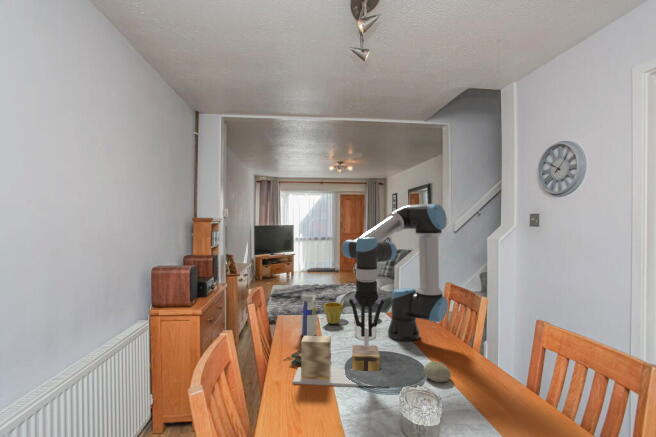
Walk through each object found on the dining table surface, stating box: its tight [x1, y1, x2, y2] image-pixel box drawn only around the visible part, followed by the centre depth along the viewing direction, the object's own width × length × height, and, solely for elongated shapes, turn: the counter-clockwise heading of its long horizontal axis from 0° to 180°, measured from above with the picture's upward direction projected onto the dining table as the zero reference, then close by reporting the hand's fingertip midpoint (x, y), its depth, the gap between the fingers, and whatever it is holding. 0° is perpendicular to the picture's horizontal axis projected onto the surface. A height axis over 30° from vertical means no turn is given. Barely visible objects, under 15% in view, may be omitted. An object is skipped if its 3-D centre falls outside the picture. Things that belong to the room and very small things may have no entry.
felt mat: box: [292, 366, 359, 387], centre depth 119 cm, size 33×11×1 cm, turn 85°
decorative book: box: [282, 348, 301, 366], centre depth 133 cm, size 13×18×5 cm
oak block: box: [300, 335, 332, 379], centre depth 120 cm, size 10×6×13 cm, turn 85°
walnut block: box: [351, 344, 381, 371], centre depth 128 cm, size 10×6×13 cm
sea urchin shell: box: [423, 360, 452, 383], centre depth 119 cm, size 9×8×8 cm
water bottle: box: [300, 284, 318, 337], centre depth 166 cm, size 8×8×25 cm
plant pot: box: [323, 301, 344, 325], centre depth 185 cm, size 10×10×10 cm
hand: (366, 345), depth 120 cm, fingers closed
